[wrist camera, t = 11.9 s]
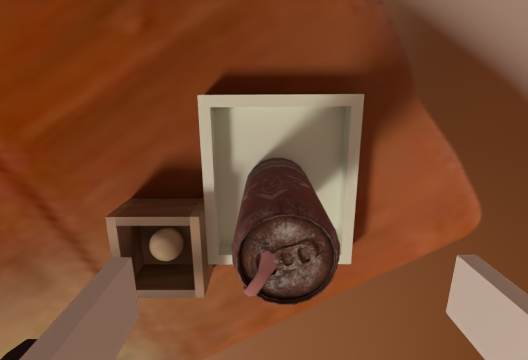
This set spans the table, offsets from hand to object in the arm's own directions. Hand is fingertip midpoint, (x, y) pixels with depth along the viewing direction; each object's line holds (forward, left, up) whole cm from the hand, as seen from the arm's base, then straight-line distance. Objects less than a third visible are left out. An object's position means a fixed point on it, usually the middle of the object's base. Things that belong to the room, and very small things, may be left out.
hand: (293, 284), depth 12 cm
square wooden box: (+6, -11, -18) cm, 22 cm away
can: (+1, 0, -18) cm, 18 cm away
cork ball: (+6, -11, -18) cm, 21 cm away
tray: (0, 0, -18) cm, 18 cm away
